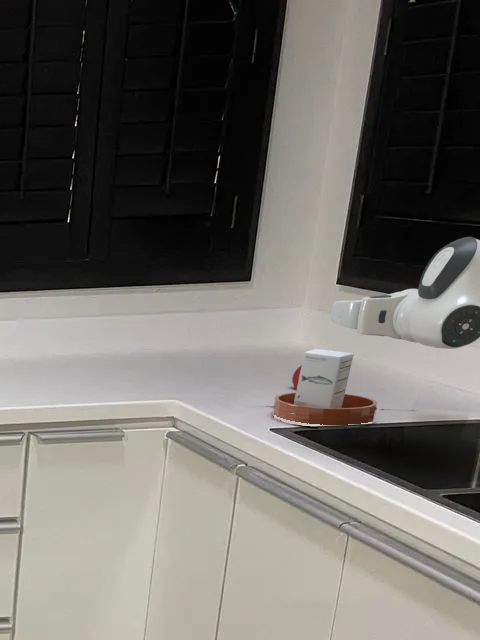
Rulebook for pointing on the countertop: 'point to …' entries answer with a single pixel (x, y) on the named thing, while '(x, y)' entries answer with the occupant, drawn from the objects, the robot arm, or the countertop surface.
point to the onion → (296, 377)
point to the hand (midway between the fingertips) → (372, 306)
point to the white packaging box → (323, 378)
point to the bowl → (326, 411)
